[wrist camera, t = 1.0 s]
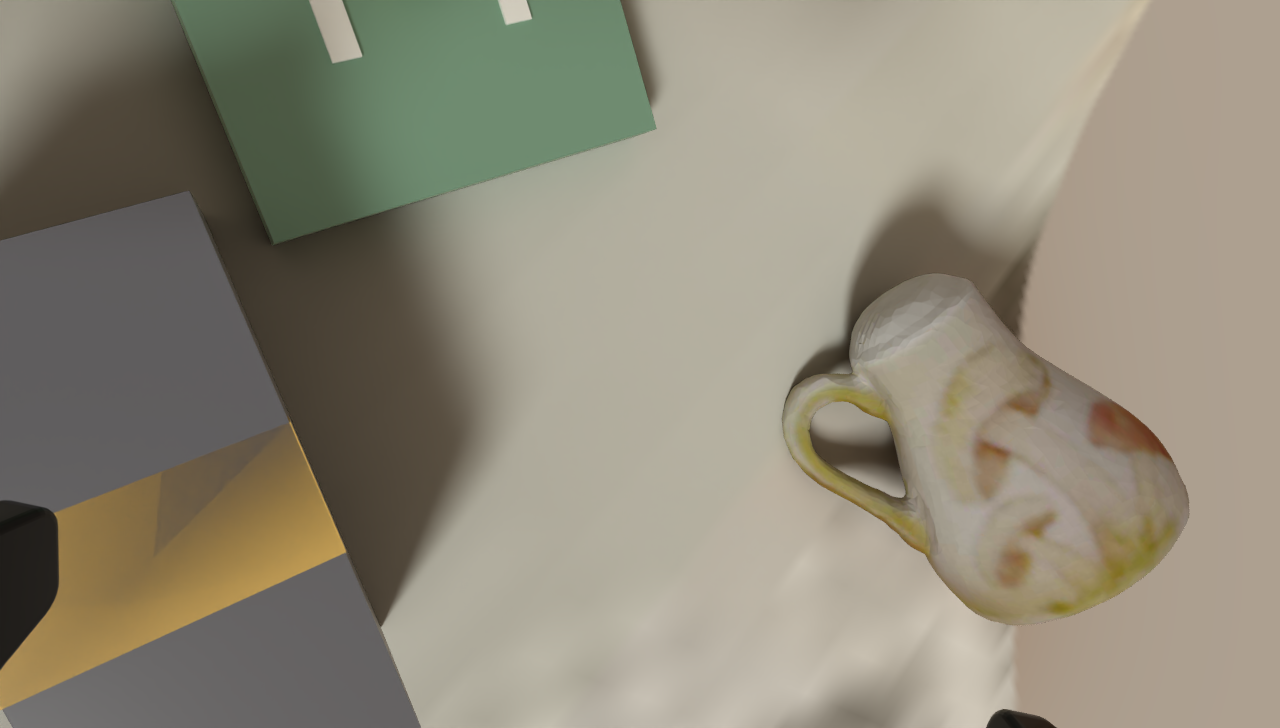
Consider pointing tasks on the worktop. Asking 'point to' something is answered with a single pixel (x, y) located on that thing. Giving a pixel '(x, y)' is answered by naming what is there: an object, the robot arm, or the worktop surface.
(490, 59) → the board
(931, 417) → the grey lumpy rounded lump
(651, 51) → the worktop surface
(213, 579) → the block
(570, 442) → the worktop surface
